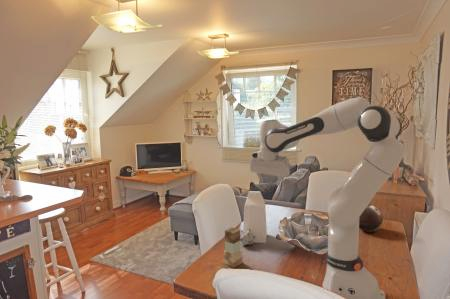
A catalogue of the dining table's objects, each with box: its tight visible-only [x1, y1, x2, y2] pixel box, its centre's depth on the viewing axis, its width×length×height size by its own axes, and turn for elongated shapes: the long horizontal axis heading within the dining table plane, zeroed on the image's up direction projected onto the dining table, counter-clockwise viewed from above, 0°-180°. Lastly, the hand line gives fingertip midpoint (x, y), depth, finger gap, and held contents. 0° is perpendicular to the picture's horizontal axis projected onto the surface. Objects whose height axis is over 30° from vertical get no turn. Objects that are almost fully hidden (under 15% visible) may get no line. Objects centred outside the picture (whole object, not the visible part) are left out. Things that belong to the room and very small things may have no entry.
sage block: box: [224, 240, 242, 255], centre depth 147 cm, size 5×5×5 cm
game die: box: [240, 229, 256, 248], centre depth 166 cm, size 9×8×10 cm
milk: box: [242, 190, 268, 244], centre depth 173 cm, size 12×12×26 cm
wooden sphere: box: [359, 204, 384, 233], centre depth 181 cm, size 15×15×15 cm
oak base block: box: [223, 249, 243, 268], centre depth 148 cm, size 6×6×6 cm
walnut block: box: [224, 226, 241, 244], centre depth 146 cm, size 5×5×5 cm
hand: (269, 183), depth 151 cm, fingers open, 8 cm apart
